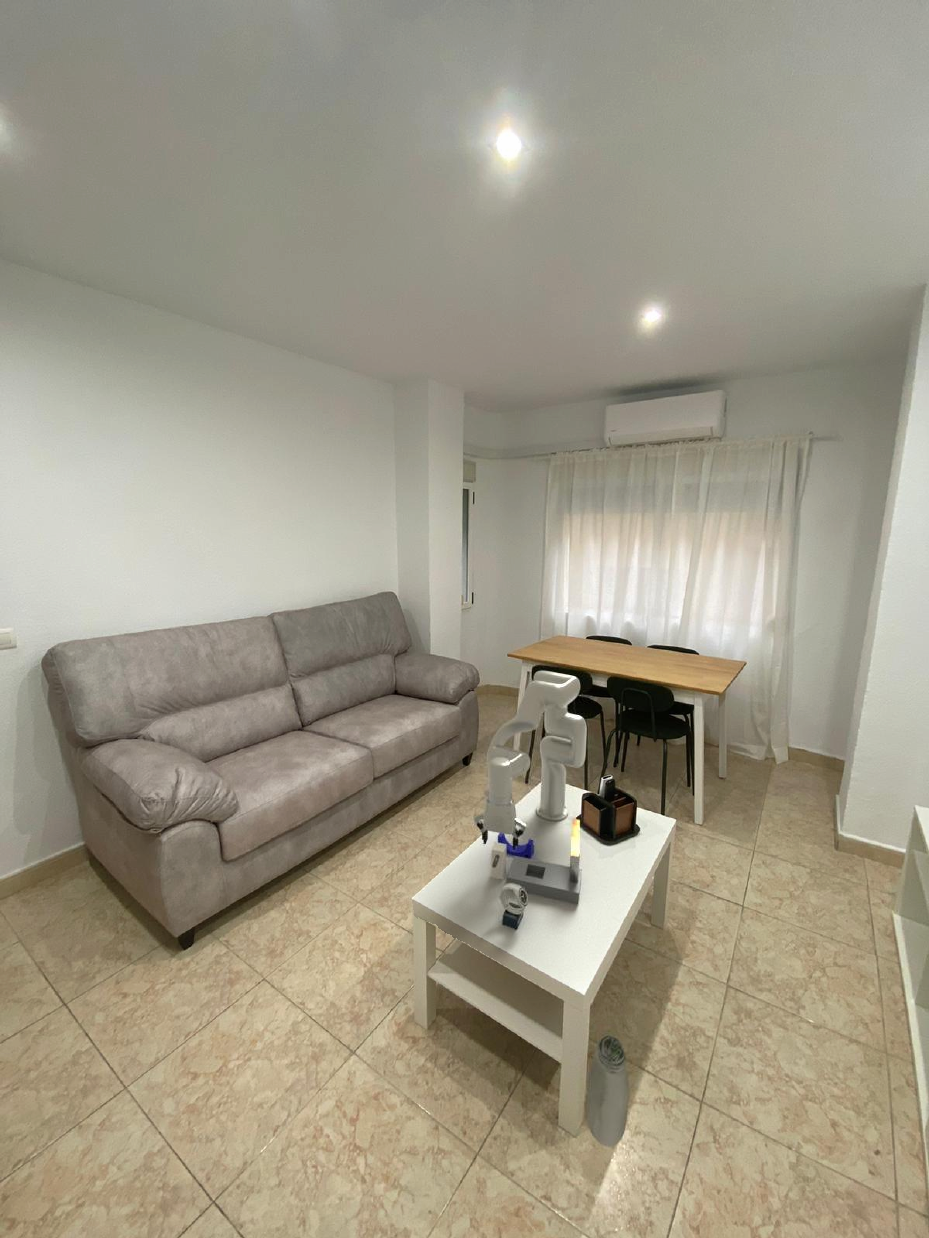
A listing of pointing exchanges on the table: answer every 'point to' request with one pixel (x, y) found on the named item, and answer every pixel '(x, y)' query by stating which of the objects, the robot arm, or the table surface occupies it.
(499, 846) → the white upright block
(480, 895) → the table surface
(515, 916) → the watch
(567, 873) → the socket block
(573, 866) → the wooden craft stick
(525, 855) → the blue cradle stand
